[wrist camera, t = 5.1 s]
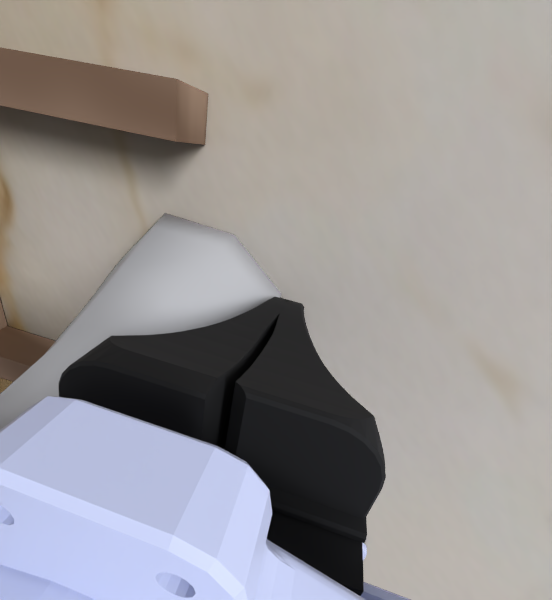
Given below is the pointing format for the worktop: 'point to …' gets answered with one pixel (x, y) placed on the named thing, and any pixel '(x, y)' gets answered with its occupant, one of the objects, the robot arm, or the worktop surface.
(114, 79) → the walnut bay
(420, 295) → the worktop surface
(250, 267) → the flask
